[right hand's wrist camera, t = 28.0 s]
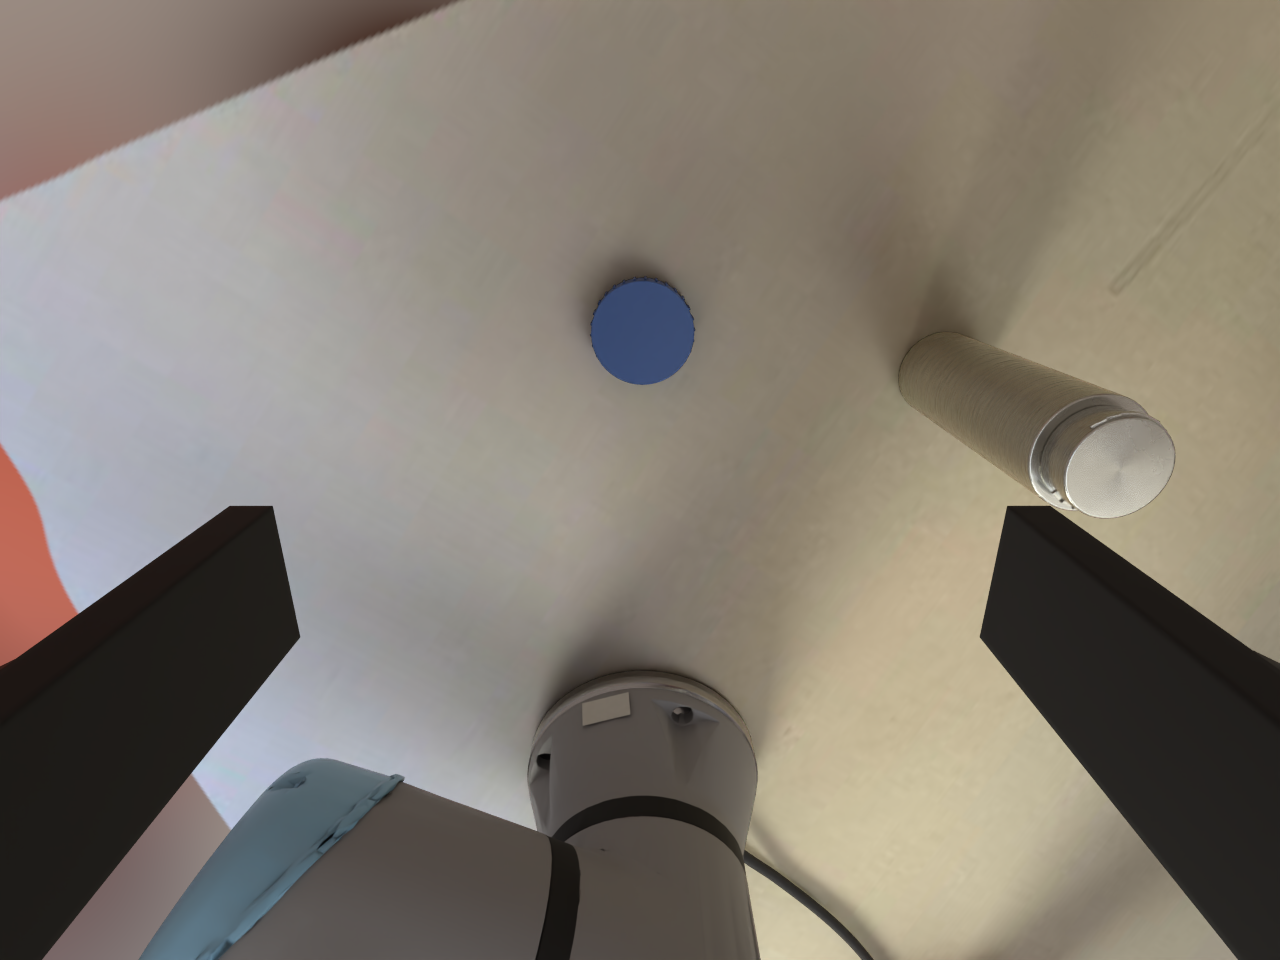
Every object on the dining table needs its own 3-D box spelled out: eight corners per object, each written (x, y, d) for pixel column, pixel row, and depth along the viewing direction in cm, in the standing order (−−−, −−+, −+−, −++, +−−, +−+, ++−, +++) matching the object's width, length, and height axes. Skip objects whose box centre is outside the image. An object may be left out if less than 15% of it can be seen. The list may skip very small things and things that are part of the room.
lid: (581, 364, 37) (579, 371, 36) (605, 263, 36) (604, 266, 34) (676, 389, 38) (678, 397, 36) (705, 291, 36) (708, 295, 34)
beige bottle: (994, 385, 38) (1205, 488, 24) (918, 428, 39) (1078, 551, 25) (962, 315, 37) (1165, 379, 22) (884, 360, 37) (1032, 450, 23)
